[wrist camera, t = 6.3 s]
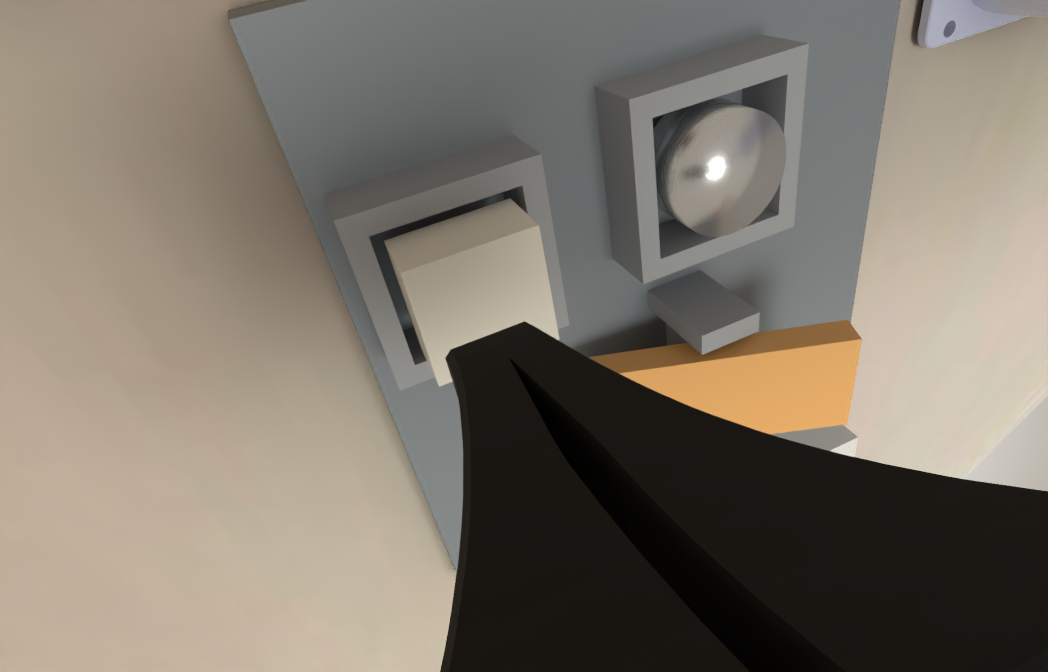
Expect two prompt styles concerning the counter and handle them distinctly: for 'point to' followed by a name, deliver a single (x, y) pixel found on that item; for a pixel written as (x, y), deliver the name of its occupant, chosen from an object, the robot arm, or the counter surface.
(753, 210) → the button round
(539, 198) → the console
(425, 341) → the button square
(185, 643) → the counter surface
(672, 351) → the rocker
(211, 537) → the counter surface
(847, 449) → the slider knob
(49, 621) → the counter surface
